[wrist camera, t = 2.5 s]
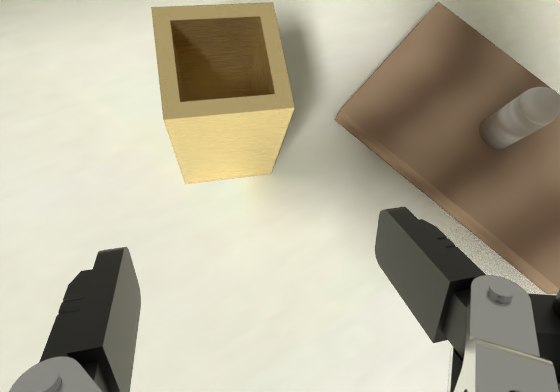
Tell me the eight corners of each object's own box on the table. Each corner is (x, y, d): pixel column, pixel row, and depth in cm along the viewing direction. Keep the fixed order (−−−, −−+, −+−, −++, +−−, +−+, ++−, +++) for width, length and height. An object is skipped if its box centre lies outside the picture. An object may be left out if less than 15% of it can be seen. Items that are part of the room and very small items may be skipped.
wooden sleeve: (185, 184, 26) (163, 119, 17) (175, 105, 27) (151, 7, 18) (271, 173, 27) (294, 107, 18) (257, 98, 28) (273, 2, 19)
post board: (334, 119, 29) (366, 66, 22) (429, 14, 33) (479, -56, 26) (546, 293, 27) (647, 291, 21) (618, 161, 31) (720, 124, 25)
